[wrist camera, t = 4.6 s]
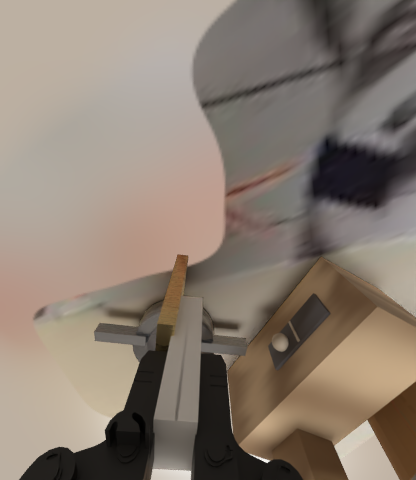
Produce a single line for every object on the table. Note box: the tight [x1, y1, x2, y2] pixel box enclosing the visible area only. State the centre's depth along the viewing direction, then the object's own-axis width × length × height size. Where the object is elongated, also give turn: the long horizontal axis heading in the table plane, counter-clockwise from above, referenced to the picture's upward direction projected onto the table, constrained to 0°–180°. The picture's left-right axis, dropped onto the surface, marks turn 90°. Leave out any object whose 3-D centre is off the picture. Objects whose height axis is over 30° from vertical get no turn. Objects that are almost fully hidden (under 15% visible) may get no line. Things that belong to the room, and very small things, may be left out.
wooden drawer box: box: [227, 257, 416, 480], centre depth 14 cm, size 14×7×11 cm, turn 151°
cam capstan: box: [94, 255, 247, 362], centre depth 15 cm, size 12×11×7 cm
